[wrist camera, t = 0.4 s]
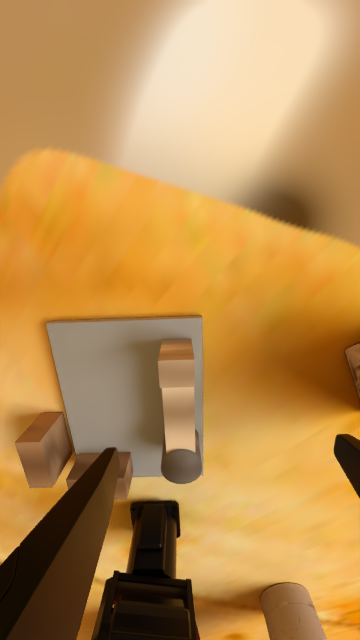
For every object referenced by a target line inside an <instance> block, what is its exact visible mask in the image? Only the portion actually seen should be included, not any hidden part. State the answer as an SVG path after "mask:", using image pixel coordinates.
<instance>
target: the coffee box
mask: <svg viewBox="0 0 360 640" xmlns="http://www.w3.org/2000/svg"><path fill="white" fill-rule="evenodd" d="M345 353H346V356H347V360H348V363H349V366H350V370H351V373H352V376H353V379H354V383H355V386H356V389H357V393H358V396H359V399H360V343H358V344H356V345H354V346H352V347H349V348H347V349H346V351H345Z"/></svg>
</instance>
